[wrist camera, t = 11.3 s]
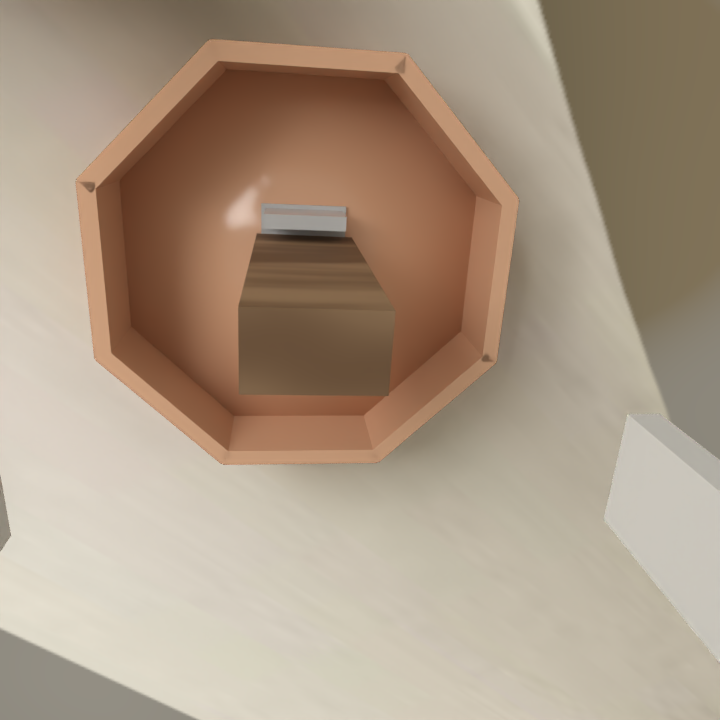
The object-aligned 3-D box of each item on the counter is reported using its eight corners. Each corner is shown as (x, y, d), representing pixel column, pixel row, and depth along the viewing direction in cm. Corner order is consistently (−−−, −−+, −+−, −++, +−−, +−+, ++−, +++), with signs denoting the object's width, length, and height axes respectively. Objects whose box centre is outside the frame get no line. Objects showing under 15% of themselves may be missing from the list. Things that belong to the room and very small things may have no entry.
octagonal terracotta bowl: (90, 38, 29) (53, 21, 24) (505, 67, 32) (543, 57, 27) (125, 425, 36) (102, 469, 32) (461, 423, 39) (485, 464, 34)
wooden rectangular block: (256, 233, 32) (238, 306, 19) (351, 237, 33) (395, 311, 20) (256, 289, 33) (238, 394, 20) (348, 292, 34) (388, 396, 21)
